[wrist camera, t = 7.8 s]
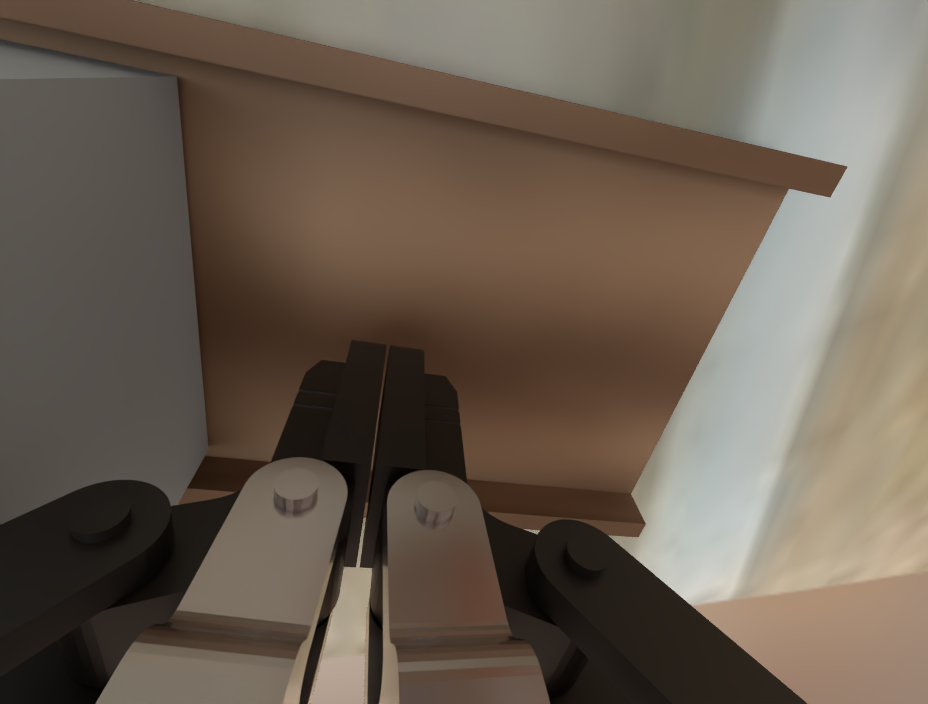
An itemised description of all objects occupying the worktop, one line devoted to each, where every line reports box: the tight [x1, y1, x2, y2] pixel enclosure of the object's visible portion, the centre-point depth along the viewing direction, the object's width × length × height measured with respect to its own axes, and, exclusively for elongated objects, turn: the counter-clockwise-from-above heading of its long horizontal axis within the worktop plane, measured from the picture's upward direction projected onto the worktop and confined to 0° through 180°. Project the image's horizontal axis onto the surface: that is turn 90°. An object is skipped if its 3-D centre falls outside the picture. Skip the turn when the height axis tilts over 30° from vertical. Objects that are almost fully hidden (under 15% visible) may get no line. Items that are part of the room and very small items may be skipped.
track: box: [0, 0, 847, 537], centre depth 9 cm, size 11×24×7 cm, turn 79°
